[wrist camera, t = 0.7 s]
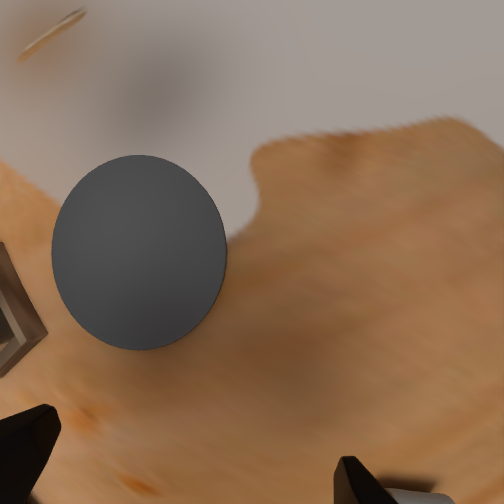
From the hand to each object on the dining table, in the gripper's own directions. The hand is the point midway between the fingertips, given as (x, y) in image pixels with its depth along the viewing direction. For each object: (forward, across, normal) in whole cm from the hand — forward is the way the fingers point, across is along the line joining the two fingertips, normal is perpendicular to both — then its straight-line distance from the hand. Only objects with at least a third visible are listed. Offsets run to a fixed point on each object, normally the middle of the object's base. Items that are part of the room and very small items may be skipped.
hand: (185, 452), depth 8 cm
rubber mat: (+15, +8, -2) cm, 17 cm away
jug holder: (+13, +23, +5) cm, 27 cm away
